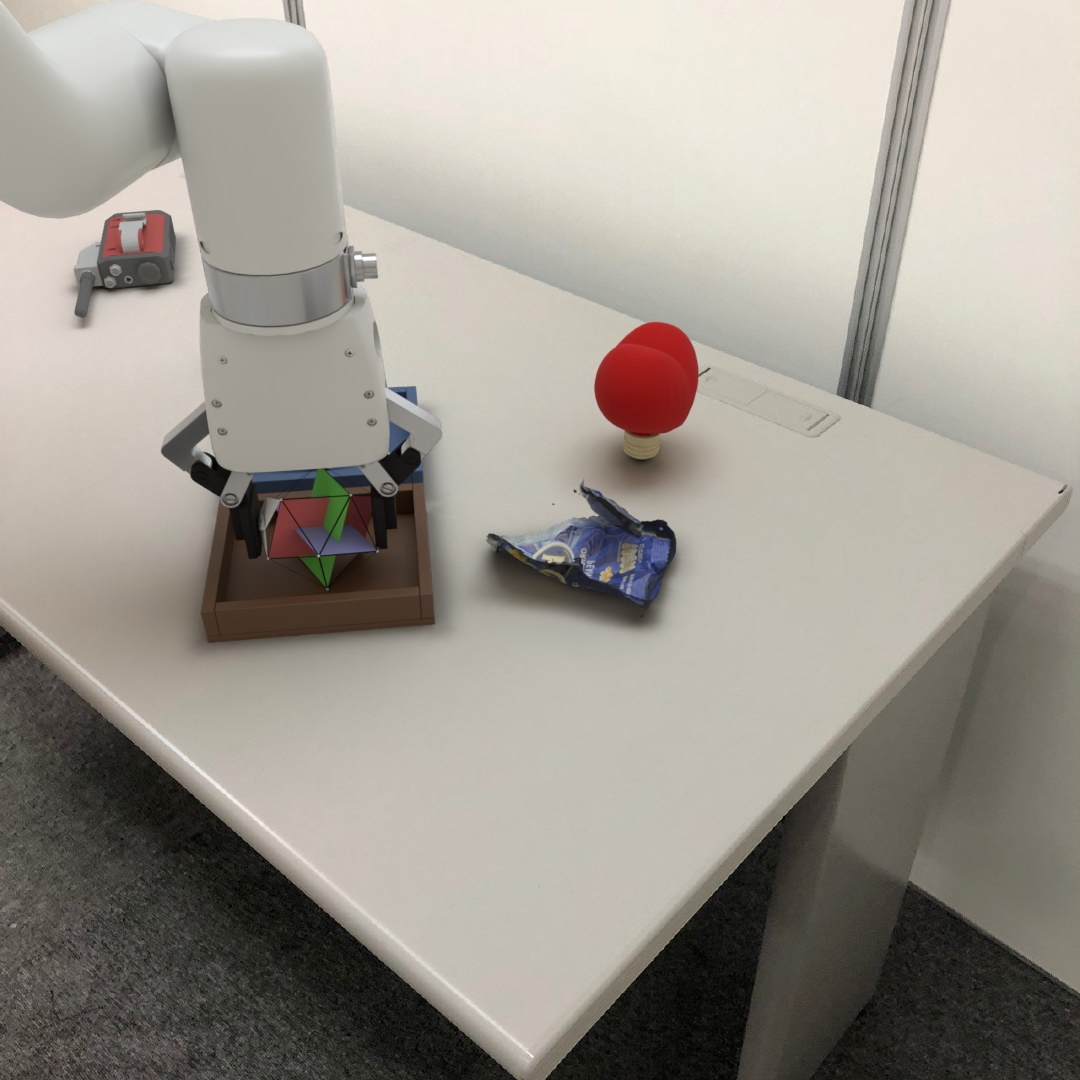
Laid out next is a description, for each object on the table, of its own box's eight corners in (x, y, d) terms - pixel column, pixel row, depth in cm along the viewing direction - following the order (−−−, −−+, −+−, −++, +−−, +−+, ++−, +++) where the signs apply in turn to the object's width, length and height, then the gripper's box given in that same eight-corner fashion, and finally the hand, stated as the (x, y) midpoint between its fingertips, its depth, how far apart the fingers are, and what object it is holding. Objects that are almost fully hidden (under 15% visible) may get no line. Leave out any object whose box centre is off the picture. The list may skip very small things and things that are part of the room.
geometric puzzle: (371, 484, 73) (293, 427, 67) (424, 535, 68) (346, 479, 62) (303, 566, 73) (218, 517, 67) (352, 622, 68) (266, 574, 62)
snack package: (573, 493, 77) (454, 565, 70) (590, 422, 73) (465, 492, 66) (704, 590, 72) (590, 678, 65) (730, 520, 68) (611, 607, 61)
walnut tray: (207, 643, 65) (200, 612, 63) (226, 525, 74) (219, 496, 72) (435, 624, 66) (432, 593, 64) (426, 511, 75) (423, 482, 73)
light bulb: (657, 504, 76) (669, 380, 70) (569, 475, 78) (573, 353, 72) (707, 441, 82) (722, 322, 76) (624, 416, 85) (632, 300, 79)
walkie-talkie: (90, 240, 111) (71, 330, 95) (78, 198, 108) (57, 283, 93) (178, 233, 112) (173, 320, 97) (169, 191, 109) (163, 274, 94)
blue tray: (228, 513, 75) (222, 483, 73) (242, 423, 84) (237, 396, 82) (425, 499, 76) (422, 470, 75) (418, 413, 85) (416, 385, 84)
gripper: (439, 243, 61) (452, 496, 72) (122, 257, 59) (186, 514, 70) (448, 302, 55) (461, 567, 66) (96, 320, 53) (170, 590, 64)
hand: (319, 538), depth 68 cm, fingers closed on geometric puzzle, 7 cm apart
